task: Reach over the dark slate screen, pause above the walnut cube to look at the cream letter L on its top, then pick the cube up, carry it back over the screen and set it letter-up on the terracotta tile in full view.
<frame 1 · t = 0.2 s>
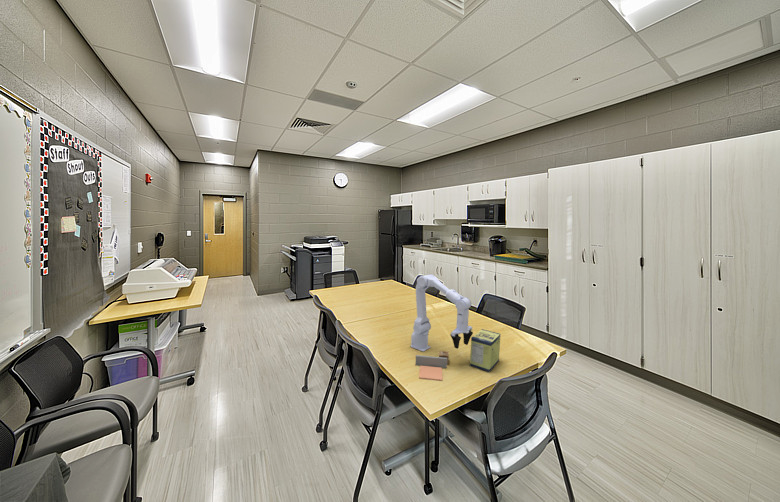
hand: (461, 346, 148), 10 cm above the table, fingers open, 7 cm apart
walnut cube: (443, 362, 150), on the table
protein box: (484, 363, 150), on the table
terracotta tile: (430, 373, 139), on the table
slate screen: (431, 366, 146), on the table
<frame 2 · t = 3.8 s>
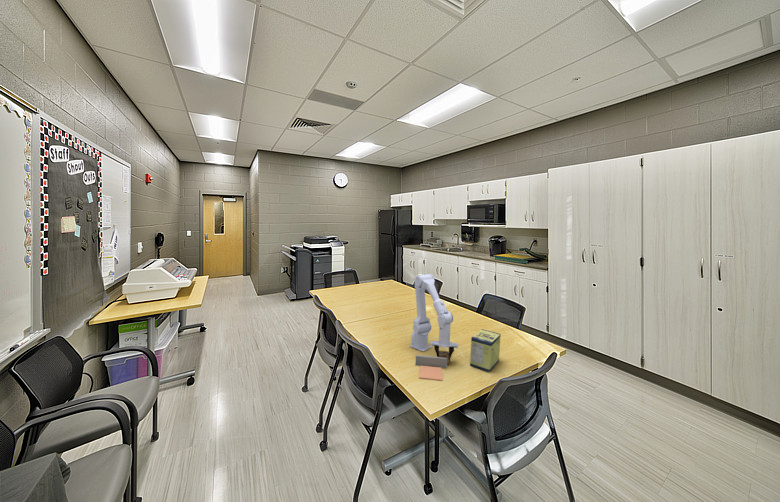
hand: (443, 359, 150), 1 cm above the table, fingers closed on walnut cube, 5 cm apart
walnut cube: (443, 362, 150), on the table, touching gripper
everything else where it was.
when the fingers open (3 cm above the table, at t = 7.9 s): walnut cube stays where it is, resting on terracotta tile.
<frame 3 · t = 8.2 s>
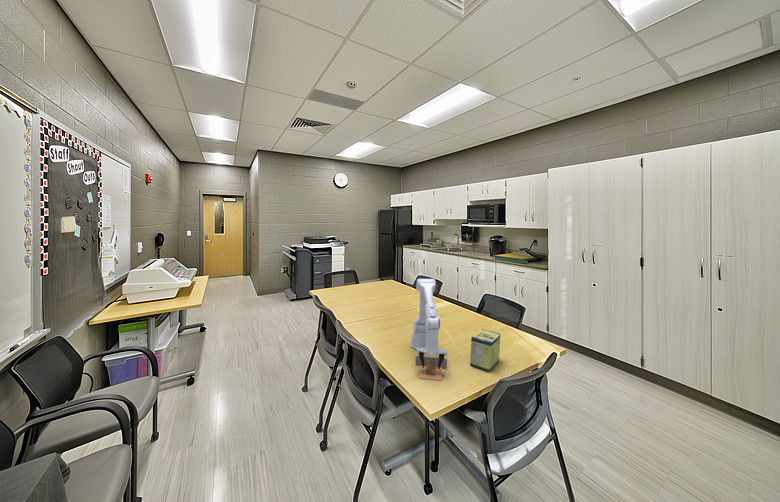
hand: (431, 367, 139), 3 cm above the table, fingers open, 7 cm apart
walnut cube: (430, 372, 139), point 1 cm above the table, touching terracotta tile
everything else where it was.
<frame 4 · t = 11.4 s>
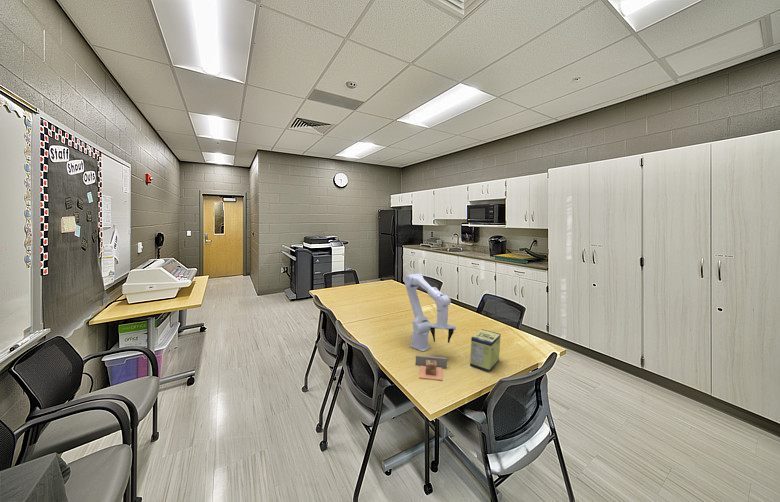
hand: (441, 341, 154), 9 cm above the table, fingers open, 7 cm apart
nothing on the table moved.
at the end: walnut cube inside the target area on the terracotta tile (0.0 cm from its centre), point 0.6 cm above the terracotta tile's base; walnut cube tilted 0°; the gripper is holding nothing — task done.
